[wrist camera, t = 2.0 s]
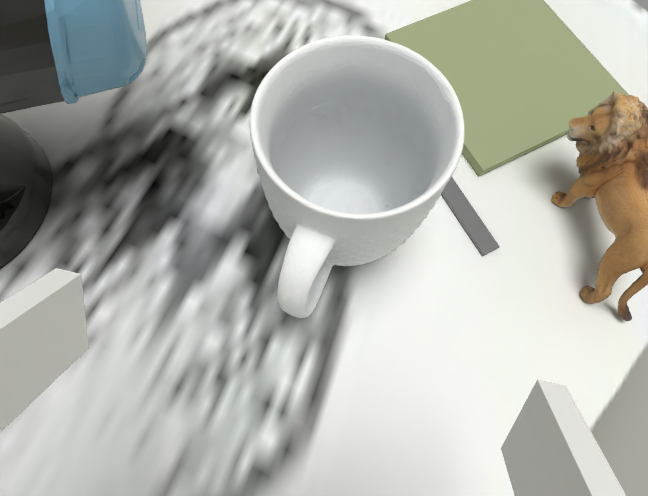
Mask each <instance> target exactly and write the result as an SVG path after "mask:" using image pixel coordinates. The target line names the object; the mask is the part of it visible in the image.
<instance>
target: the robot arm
mask: <svg viewBox="0 0 648 496" xmlns="http://www.w3.org/2000/svg"><path fill="white" fill-rule="evenodd" d="M146 54H147V44H146V34H145V26H144V20H143V14H142V9H141V4H140V0H0V113H6V112H11V111H16V110H21V109H26V108H31V107H36V106H41V105H46V104H51V103H56V102H62V101H65V102H67V103H68V104H71V103H75V102H77V101H78V100H79V98H80V97H82V96H86V95H90V94H94V93H98V92H102V91H106V90H110V89H114V88H118V87H122V86H125V85H128V84H129V83H131V82H133V81H134V80H135V79H137V77H138V76H139V75H140V74H141V72H142V70H143V68H144V66H145V61H146ZM51 189H52V177H51V170H50V166H49V163H48V160H47V157H46V156H45V154H44V152H43V150H42V149H41V147H40V146H39V145H38V143H37V142H36V141H35V140H34V139H33V138H31V137H30V136H29V135H28V134H27V133H26V132H25V131H23V130H22V129H21V128H20V127H19V126H18V125H17V124H15V123H14V122H13V121H11V120H10V119H8V118H7V117H5V116H4V115H2V114H0V268H1V267H2V266H4V265H5V264H6V263H7V262H9V261H10V260H11V259H12V258H13V257H15V256H16V255H17V254H18V253H19V252H20V251H21V250H22V249H23V248H24V246H25V245H26V244H27V243H28V242H29V241H30V239H31V238H32V237H33V235H34V234H35V232H36V231H37V229H38V228H39V226H40V224H41V222H42V220H43V218H44V216H45V214H46V211H47V208H48V205H49V201H50V197H51ZM87 349H89V347H88V337H87V327H86V318H85V308H84V298H83V289H82V279H81V274H79V273H75V272H70V271H66V270H62V269H57V268H56V269H54V270H52V271H51V272H49V273H48V274H46V275H44V276H43V277H41V278H40V279H38V280H36V281H35V282H33V283H31V284H30V285H28V286H27V287H25V288H23V289H22V290H20V291H18V292H17V293H15V294H14V295H12V296H10V297H9V298H7V299H5V300H4V301H2V302H1V303H0V432H1V431H2V430H3V429H4V428H5V427H7V426H8V425H9V424H10V423H11V422H12V421H13V420H14V419H15V418H16V417H17V416H18V415H19V414H20V413H21V412H22V411H23V410H24V409H25V408H26V407H28V406H29V405H30V404H31V403H32V402H33V401H34V400H35V399H36V398H37V397H38V396H39V395H40V394H41V393H42V392H43V391H44V390H45V389H46V388H48V387H49V386H50V385H51V384H52V383H53V382H54V381H55V380H56V379H57V378H58V377H59V376H60V375H61V374H62V373H63V372H64V371H65V370H66V369H67V368H69V367H70V366H71V365H72V364H73V363H74V362H75V361H76V360H77V359H78V358H79V357H80V356H81V355H82V354H83V353H84V352H85V351H86V350H87ZM501 450H502V453H503V457H504V460H505V464H506V467H507V470H508V474H509V477H510V481H511V484H512V488H513V491H514V494H515V496H626V495H625V493H624V491H623V489H622V488H621V486H620V484H619V482H618V480H617V478H616V477H615V475H614V473H613V471H612V469H611V467H610V466H609V464H608V462H607V460H606V458H605V456H604V455H603V453H602V451H601V449H600V447H599V445H598V444H597V442H596V440H595V438H594V436H593V435H592V433H591V431H590V429H589V427H588V425H587V424H586V422H585V420H584V418H583V416H582V414H581V413H580V411H579V409H578V407H577V405H576V404H575V402H574V400H573V398H572V396H571V394H570V393H569V391H568V389H567V387H566V386H563V385H558V384H554V383H550V382H545V381H541V380H537V382H536V383H535V385H534V387H533V389H532V391H531V393H530V395H529V397H528V398H527V400H526V402H525V404H524V406H523V408H522V410H521V412H520V414H519V415H518V417H517V419H516V421H515V423H514V425H513V427H512V429H511V431H510V432H509V434H508V436H507V438H506V440H505V442H504V444H503V446H502V448H501Z"/></svg>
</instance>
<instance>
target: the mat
mask: <svg viewBox="0 0 648 496" xmlns="http://www.w3.org/2000/svg"><path fill="white" fill-rule="evenodd" d="M385 40H387V41H390V42H393V43H397V44H399V45H402V46H404V47H407V48H409V49H410V50H412V51H414V52H416V53H418V54H419V55H421V56H422V57H424V58H425V59H427V60H428V61H429V62H430V63H431V64H433V65H434V66H435V67H436V68H437V69H438V70H439V71H440V72H441V73H442V74H443V75H444V76H445V78H446V79H447V80H448V82H449V83H450V85H451V86H452V88H453V90H454V91H455V93H456V95H457V97H458V100H459V103H460V106H461V109H462V113H463V119H464V144H463V149H462V154H463V155H464V156H465V158H466V159H467V161H468V162H469V163H470V165H471V166H472V168H473V169H474V170H475V172H476V173H477V175H478V176H481V175H483V174H485V173H487V172H489V171H491V170H493V169H495V168H497V167H499V166H502V165H504V164H506V163H508V162H510V161H512V160H514V159H516V158H518V157H520V156H522V155H524V154H527V153H529V152H531V151H533V150H535V149H537V148H539V147H541V146H543V145H545V144H547V143H549V142H551V141H554V140H556V139H558V138H560V137H562V136H564V135H566V134H567V133H568V131H569V122H570V120H571V119H573V118H577V117H584V116H587V115H588V112H589V111H590V110H591V109H593V108H594V107H596V106H597V105H598V104H599V103H601V102H602V101H603V100H604V99H607V98H608V97H609V96H610V95H612V93H613V91H616V92H617V93H618V94H619V95H620V94H625V95H628V93H627V92H626V91H625V90H624V89H623V88H622V87H621V86H620V85H619V83H618V82H617V81H616V80H615V79H614V78H613V77H612V76H611V75H610V73H609V72H608V71H607V70H606V69H605V68H604V67H603V66H602V65H601V63H600V62H599V61H598V60H597V59H596V58H595V57H594V56H593V55H592V54H591V52H590V51H589V50H588V49H587V48H586V47H585V46H584V45H583V44H582V42H581V41H580V40H579V39H578V38H577V37H576V36H575V35H574V34H573V32H572V31H571V30H570V29H569V28H568V27H567V26H566V25H565V24H564V22H563V21H562V20H561V19H560V18H559V17H558V16H557V15H556V14H555V12H554V11H553V10H552V9H551V8H550V7H549V6H548V5H547V4H546V3H545V1H544V0H471V1H469V2H466V3H464V4H461V5H459V6H456V7H454V8H451V9H448V10H446V11H443V12H441V13H438V14H436V15H433V16H431V17H428V18H425V19H423V20H420V21H418V22H415V23H413V24H410V25H408V26H405V27H403V28H400V29H397V30H395V31H392V32H390V33H387V34H386V35H385Z"/></svg>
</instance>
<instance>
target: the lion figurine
mask: <svg viewBox="0 0 648 496" xmlns="http://www.w3.org/2000/svg"><path fill="white" fill-rule="evenodd" d="M567 138H568V140H570V141H577V142H576V147H577V150H578V151H579V152H580V155H579V157H578V158H577V166H578V168H579V173H580V175H581V176H580V177H579V178H578V179H577V181H576V182H575V183H574V184H573V185H572V187H571V188H570V190H569V192H568V194H567V195H566V194H565V193H561V192H557V193H556V194H554V195H553V198H552V202H553V203H554V204H555V205H557V206H559V207H570V206H572V205H573V204H574V203H575V202H576V201H577V200H578V199H580V198H583V197H587V198H594V197H595V198H596V204H597V208H598V211H599V214H600V216H601V219H602V220H603V222H604V224H605V226H606V227H607V228H608V230H609V231H611V232H612V233H613V234H615V237H616V239H615V242H614V243H613V244H612V245H611V246H610V247H609V248H608V249H607V251H606V253H605V254H604V256H603V258H602V260H601V262H600V265H599V270H598V277H597V284H596V289H595V288H593V287H591V286H586V287H585V288H583V289H582V290H581V292H580V295H581V297H582V299H583V300H584V301H585V302H588V303H598V302H601V301H602V300H604V299H605V298H607V297H608V296H610V295H611V291H612V286H613V285H614V283H615V282H616V280H617V279H618V278H619V277H620V276H621V275H622V274H624V273H627V272H629V271H632V270H634V269H637V268H640V269H641V271H642V272H643V274H642V275H641V276H640V277H639V278H638V279H637V280H636V281H635V282H634V283H633V284H632V285H631V286H630V287H629V288H628V289H627V290H626V291H625V292H624V293H623V294H622V296H621V297H620V299H619V302H618V314H619V315H620V316H621V317H622V318H623V320H625V321H630V320H631V319H632V316H631V313H630V311H629V308H628V306H627V301H628V300H629V299H630V298H631V297H632V296H633V295H634V294H636V293H637V292H638V291H640V290H641V289H642V288H643V287H645V286H646V285H647V284H648V109H647V107H646V106H645V104H644V103H642V102H641V101H639V98H638V97H634V96H632V95H625V94H620V95H619V94H618V93H617V92H616V91H613V93H612V95H610V96H609V97H608V98H607V99H604V100H603V101H602V102H601V103H599V104H598V105H597V106H596V107H594V108H593V109H591V110H590V111H589V112H588V115H587V116H584V117H577V118H573V119H571V120H570V122H569V131H568V133H567Z"/></svg>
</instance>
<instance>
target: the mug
mask: <svg viewBox="0 0 648 496" xmlns="http://www.w3.org/2000/svg"><path fill="white" fill-rule="evenodd" d="M250 136H251V141H252V146H253V151H254V157H255V160H256V163H257V171H258V174H259V176H260V179H261V186H262V187H263V189H264V193H265V197H266V199H267V201H268V204H269V208H270V209H271V211H272V212H273V216H274V218H275V220H276V221H277V222H278V223H279V227H280V228H281V229H282V230H283V231H284V232H285V234H286V236H287V237H288V238H289V239H290V242H289V244H288V247H287V250H286V253H285V257H284V261H283V265H282V269H281V272H280V276H279V282H278V289H277V301H278V304H279V306H280V307H281V309H282V310H283V311H285V312H286V313H288V314H290V315H292V316H294V317H297V318H306V317H308V316H309V315H311V313H312V312H313V310H314V309H315V307H316V305H317V303H318V300H319V298H320V296H321V293H322V291H323V288H324V286H325V284H326V281H327V279H328V276H329V274H330V271H331V269H332V266H333V265H338V266H353V265H360V264H367V263H369V262H372V261H375V260H377V259H379V258H380V257H384V256H386V255H387V254H388V253H389V252H391V251H393V250H395V249H396V248H397V247H398V246H399V245H401V244H402V243H404V242H405V241H406V239H407V238H409V237H410V236H411V235H412V234H413V233H414V231H415V229H417V228H418V227H419V226H420V225H421V223H422V221H423V220H424V219H425V218H426V217H427V215H428V213H429V211H430V210H431V209H432V208H433V207H434V205H435V202H436V201H437V199H438V198H439V197H440V196H441V193H442V191H443V189H444V188H445V186H446V184H447V183H448V181H449V180H450V178H451V176H452V174H453V173H454V171H455V169H456V167H457V164H458V162H459V160H460V157H461V153H462V149H463V144H464V119H463V113H462V109H461V106H460V103H459V100H458V97H457V95H456V93H455V91H454V90H453V88H452V86H451V85H450V83H449V82H448V80H447V79H446V78H445V76H444V75H443V74H442V73H441V72H440V71H439V70H438V69H437V68H436V67H435V66H434V65H433V64H431V63H430V62H429V61H428V60H427V59H425V58H424V57H422V56H421V55H419V54H418V53H416V52H414V51H412V50H410V49H409V48H407V47H404V46H402V45H399V44H397V43H393V42H390V41H387V40H384V39H379V38H374V37H366V36H337V37H330V38H325V39H321V40H318V41H315V42H312V43H309V44H306V45H304V46H302V47H300V48H298V49H297V50H295V51H293V52H291V53H290V54H288V55H287V56H285V57H284V58H283V59H282V60H280V61H279V62H278V63H277V64H276V65H275V66H274V67H273V68H272V69H271V70H270V71H269V72H268V74H267V75H266V76H265V78H264V79H263V81H262V82H261V84H260V85H259V87H258V89H257V91H256V94H255V96H254V99H253V102H252V107H251V111H250Z"/></svg>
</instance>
